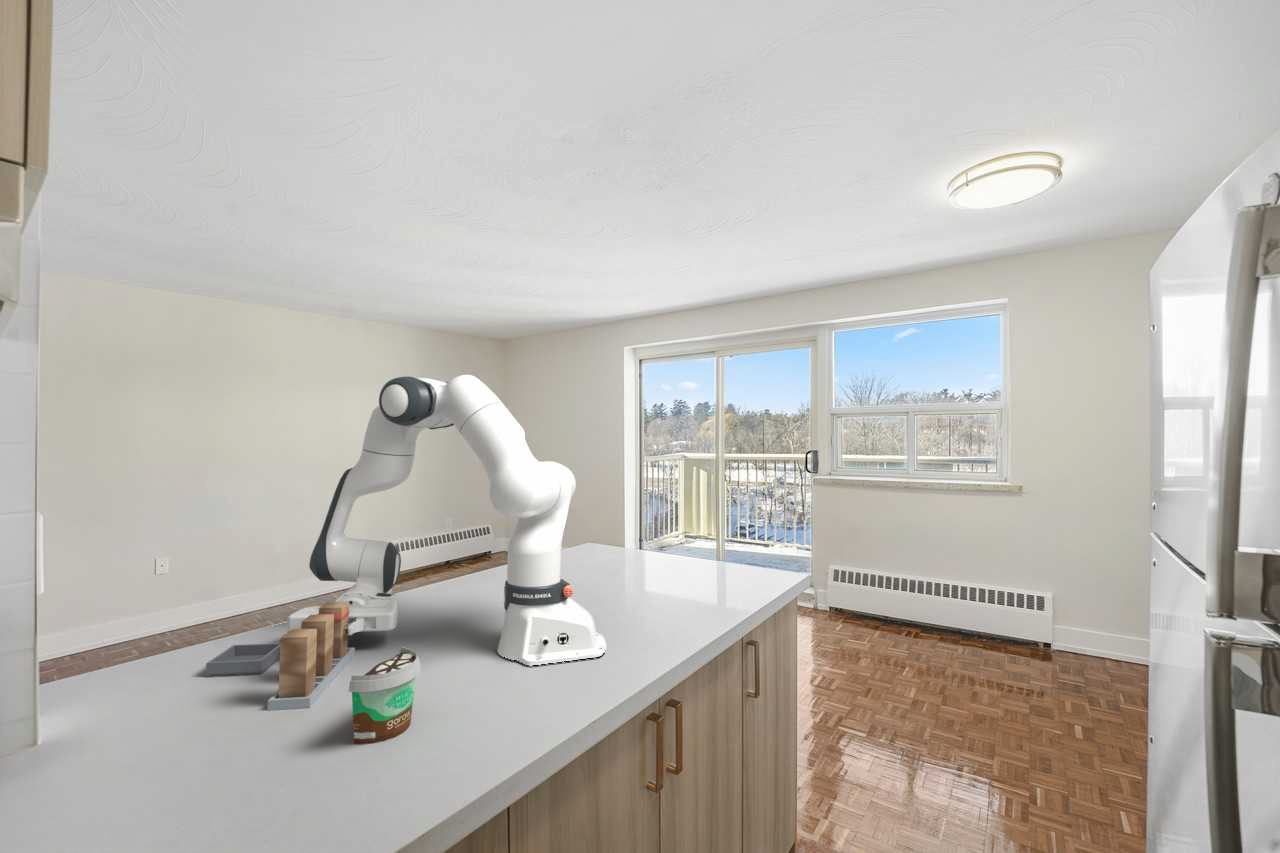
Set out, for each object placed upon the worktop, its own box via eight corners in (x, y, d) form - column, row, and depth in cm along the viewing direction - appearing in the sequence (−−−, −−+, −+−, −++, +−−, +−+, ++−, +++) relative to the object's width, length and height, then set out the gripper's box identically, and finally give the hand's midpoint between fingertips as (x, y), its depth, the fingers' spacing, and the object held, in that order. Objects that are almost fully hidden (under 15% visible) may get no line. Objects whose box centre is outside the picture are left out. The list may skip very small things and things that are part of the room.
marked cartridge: (347, 657, 111) (349, 601, 111) (340, 665, 107) (342, 607, 107) (324, 658, 110) (326, 601, 111) (316, 666, 106) (318, 608, 106)
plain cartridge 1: (314, 694, 95) (317, 628, 95) (305, 705, 91) (307, 636, 91) (289, 695, 94) (291, 629, 95) (278, 706, 90) (280, 637, 91)
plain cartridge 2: (332, 674, 103) (334, 614, 103) (323, 683, 99) (325, 621, 99) (308, 675, 102) (310, 614, 103) (299, 685, 98) (301, 621, 99)
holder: (354, 655, 112) (354, 647, 112) (309, 707, 90) (310, 698, 90) (321, 656, 111) (321, 648, 111) (267, 710, 89) (267, 700, 89)
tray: (283, 655, 111) (283, 642, 111) (261, 674, 102) (261, 660, 102) (232, 657, 110) (233, 644, 110) (205, 677, 101) (206, 663, 101)
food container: (385, 754, 77) (387, 681, 78) (346, 749, 79) (348, 676, 79) (435, 712, 90) (437, 649, 90) (400, 708, 91) (402, 645, 91)
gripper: (303, 597, 120) (272, 617, 106) (404, 594, 123) (387, 613, 110) (302, 627, 120) (271, 651, 106) (403, 623, 123) (386, 646, 110)
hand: (331, 632), depth 108 cm, fingers closed on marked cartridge, 4 cm apart
